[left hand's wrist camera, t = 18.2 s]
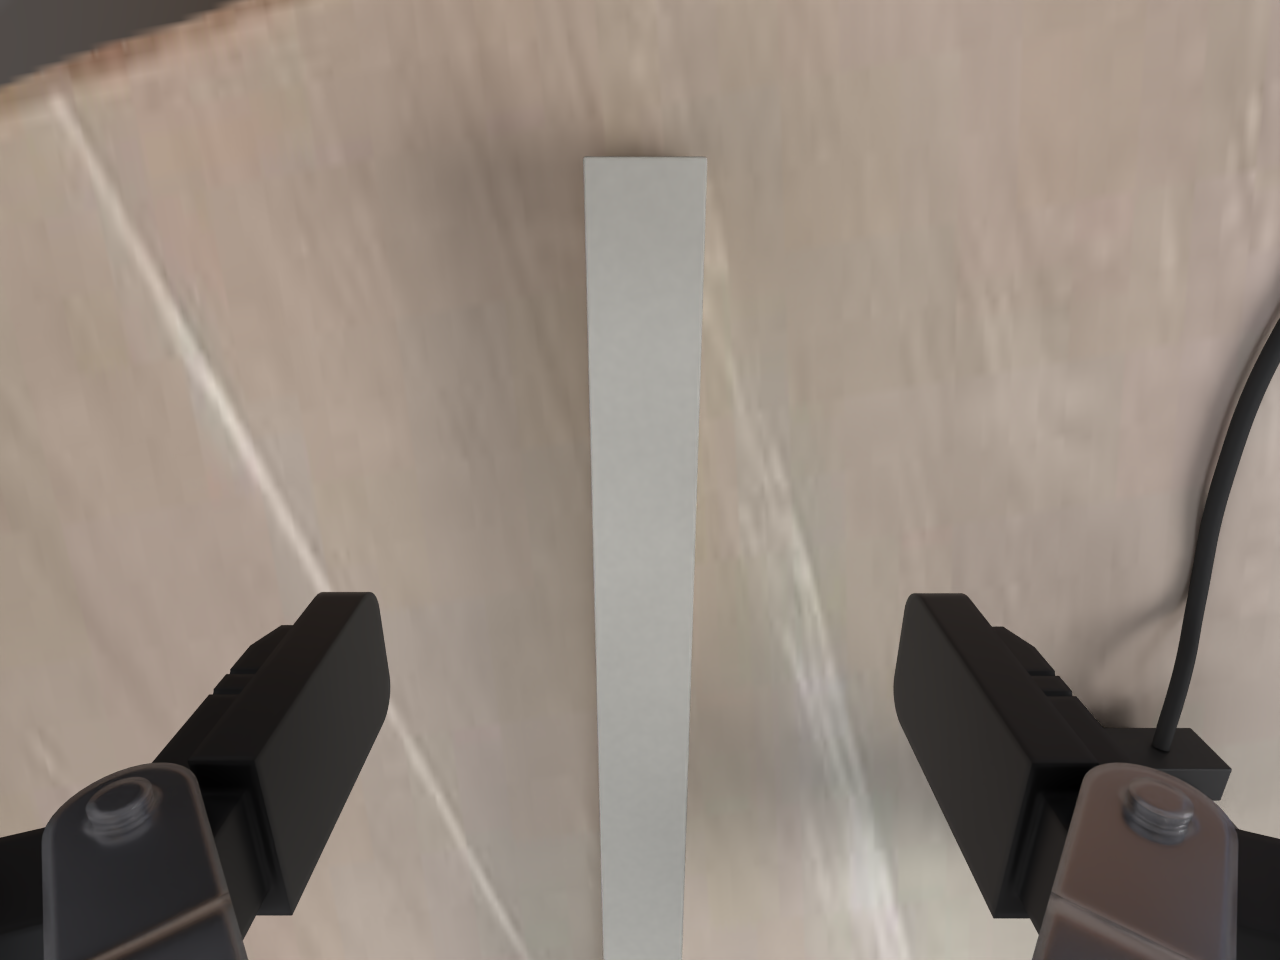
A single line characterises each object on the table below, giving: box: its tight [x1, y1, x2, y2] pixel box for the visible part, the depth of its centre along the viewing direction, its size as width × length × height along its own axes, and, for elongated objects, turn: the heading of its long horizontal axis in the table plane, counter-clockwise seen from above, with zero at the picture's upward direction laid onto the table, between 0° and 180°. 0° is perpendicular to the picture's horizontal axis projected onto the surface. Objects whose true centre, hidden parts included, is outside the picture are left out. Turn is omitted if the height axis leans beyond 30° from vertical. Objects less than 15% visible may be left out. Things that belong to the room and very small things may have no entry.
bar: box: [583, 157, 707, 960], centre depth 43 cm, size 74×4×7 cm, turn 0°
